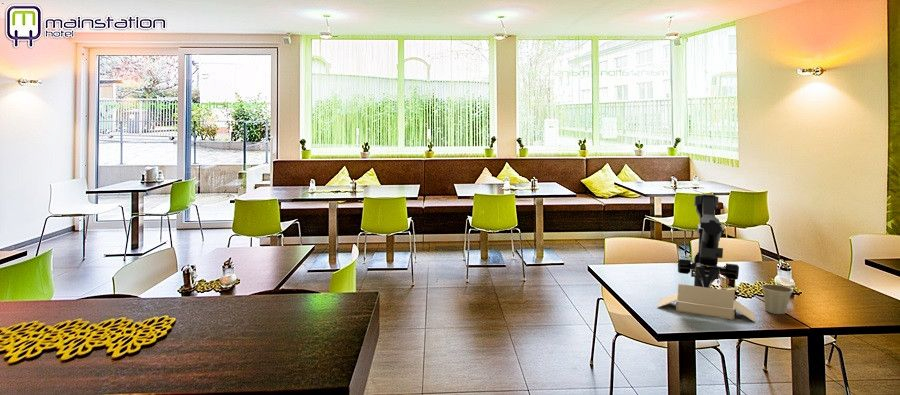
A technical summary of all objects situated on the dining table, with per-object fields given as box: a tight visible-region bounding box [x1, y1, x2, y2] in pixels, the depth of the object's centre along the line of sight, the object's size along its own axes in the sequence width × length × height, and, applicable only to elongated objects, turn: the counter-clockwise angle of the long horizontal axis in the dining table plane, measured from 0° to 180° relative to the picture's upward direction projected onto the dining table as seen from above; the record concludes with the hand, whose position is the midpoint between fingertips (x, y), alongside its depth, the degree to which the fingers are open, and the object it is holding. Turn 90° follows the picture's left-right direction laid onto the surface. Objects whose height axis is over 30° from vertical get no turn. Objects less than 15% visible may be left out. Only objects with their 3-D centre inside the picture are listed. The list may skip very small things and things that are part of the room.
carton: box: [657, 292, 756, 323], centre depth 186 cm, size 16×30×4 cm, turn 62°
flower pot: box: [761, 284, 794, 315], centre depth 184 cm, size 9×9×9 cm
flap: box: [677, 283, 736, 309], centre depth 177 cm, size 1×17×7 cm
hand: (705, 290), depth 176 cm, fingers closed, pressing on flap
